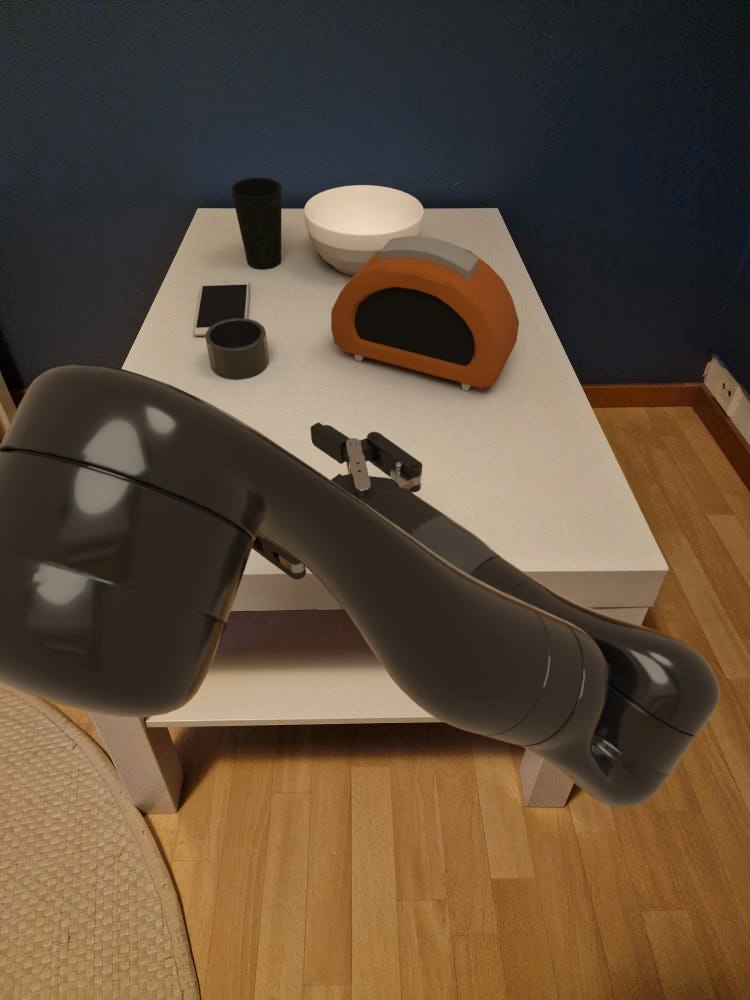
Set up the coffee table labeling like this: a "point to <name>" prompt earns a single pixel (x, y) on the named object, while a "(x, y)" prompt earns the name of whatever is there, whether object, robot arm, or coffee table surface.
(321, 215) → the bowl
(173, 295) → the coffee table surface
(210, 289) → the smartphone
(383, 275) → the alarm clock
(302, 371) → the coffee table surface
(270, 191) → the cup
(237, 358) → the pod chamber
